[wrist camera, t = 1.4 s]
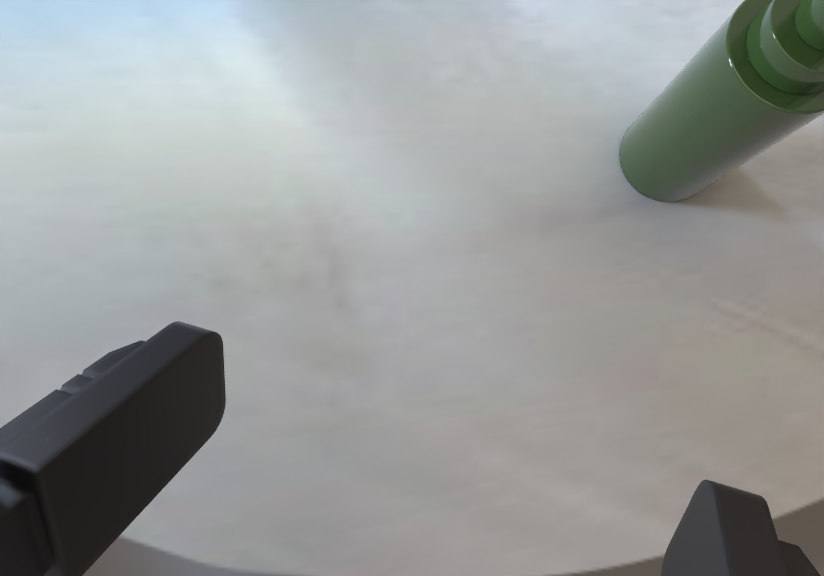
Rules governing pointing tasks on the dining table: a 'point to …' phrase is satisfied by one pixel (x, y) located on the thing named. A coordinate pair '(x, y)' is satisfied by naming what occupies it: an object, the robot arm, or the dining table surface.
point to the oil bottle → (730, 100)
